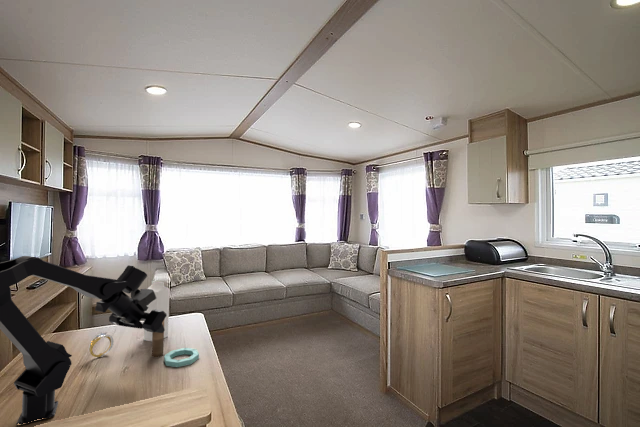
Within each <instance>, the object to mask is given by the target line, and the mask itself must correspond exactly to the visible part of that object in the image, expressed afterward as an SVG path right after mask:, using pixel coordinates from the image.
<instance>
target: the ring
mask: <svg viewBox="0 0 640 427" xmlns="http://www.w3.org/2000/svg"><path fill="white" fill-rule="evenodd" d="M107 333H108V332H107V331H105V332H102V331H101V332H99V333H98V334H96V335H95V336H93V338H92V339H91V340H90V342H89V345H88V352H89V354H90V355H91V356H92V357H94V358H103V357H104V356H106V355H107V354H108V353H109V352H111V350H112V348H113V346H114V342H115V341H114V338H113V335H111V334H107ZM103 338H106V339H108V340H109V346H108V348H107V349H106V350H105V351H104V352H100V353H99V354H97V353H96V354H95V353H94V352H93V349H94V347H95V345H96V344H97V343H98V342H99V341H100V340H101V339H103Z"/></svg>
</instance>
